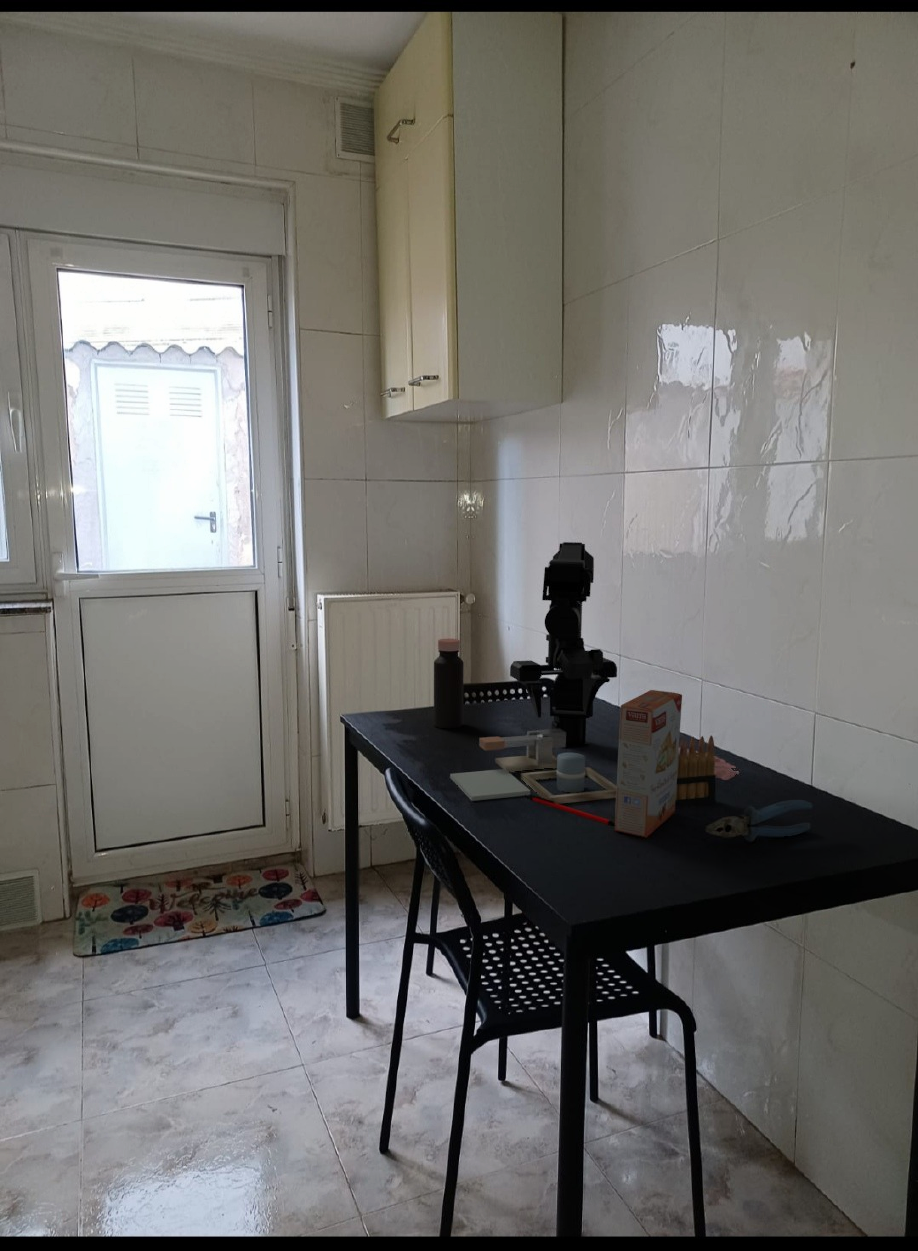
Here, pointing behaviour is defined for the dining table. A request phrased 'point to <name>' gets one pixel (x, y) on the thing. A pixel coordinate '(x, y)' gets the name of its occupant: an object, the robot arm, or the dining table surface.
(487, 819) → the dining table surface
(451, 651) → the bottle
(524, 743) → the cutter handle
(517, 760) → the base
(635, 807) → the cracker box
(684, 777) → the ammunition clip
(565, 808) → the pen
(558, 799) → the open square beige frame
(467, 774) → the pad
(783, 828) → the pliers
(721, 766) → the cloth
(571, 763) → the grey round canister
